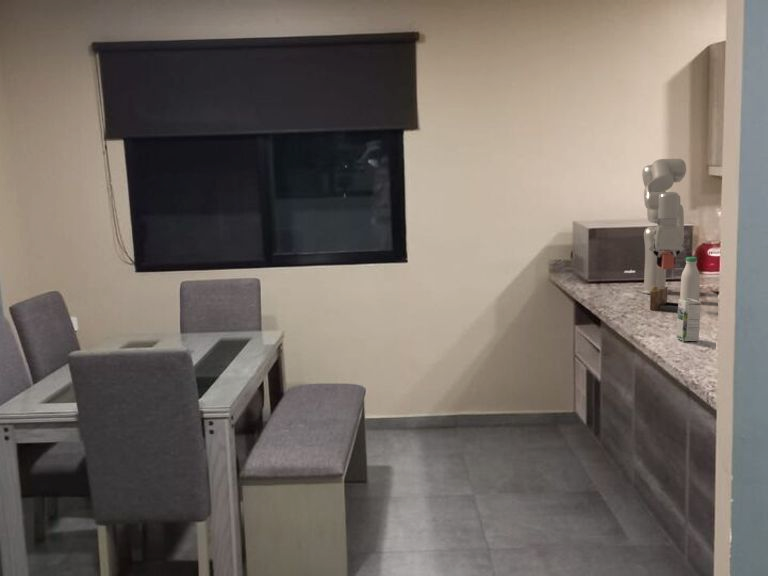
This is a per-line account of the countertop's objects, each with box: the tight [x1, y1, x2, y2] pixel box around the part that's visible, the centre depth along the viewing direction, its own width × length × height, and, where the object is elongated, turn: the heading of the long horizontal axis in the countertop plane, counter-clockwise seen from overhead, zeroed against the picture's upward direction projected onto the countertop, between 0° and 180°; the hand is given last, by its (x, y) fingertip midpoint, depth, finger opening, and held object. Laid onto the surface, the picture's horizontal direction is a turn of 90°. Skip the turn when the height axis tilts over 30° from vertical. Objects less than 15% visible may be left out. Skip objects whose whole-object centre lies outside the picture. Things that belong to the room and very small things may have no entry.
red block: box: [657, 251, 675, 270], centre depth 317 cm, size 4×8×7 cm, turn 176°
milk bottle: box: [679, 256, 701, 301], centre depth 331 cm, size 8×8×20 cm
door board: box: [649, 286, 669, 312], centre depth 321 cm, size 15×2×10 cm, turn 141°
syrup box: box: [675, 298, 702, 342], centre depth 264 cm, size 6×6×14 cm
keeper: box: [657, 301, 678, 313], centre depth 317 cm, size 9×12×2 cm
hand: (665, 265), depth 317 cm, fingers closed on red block, 4 cm apart
